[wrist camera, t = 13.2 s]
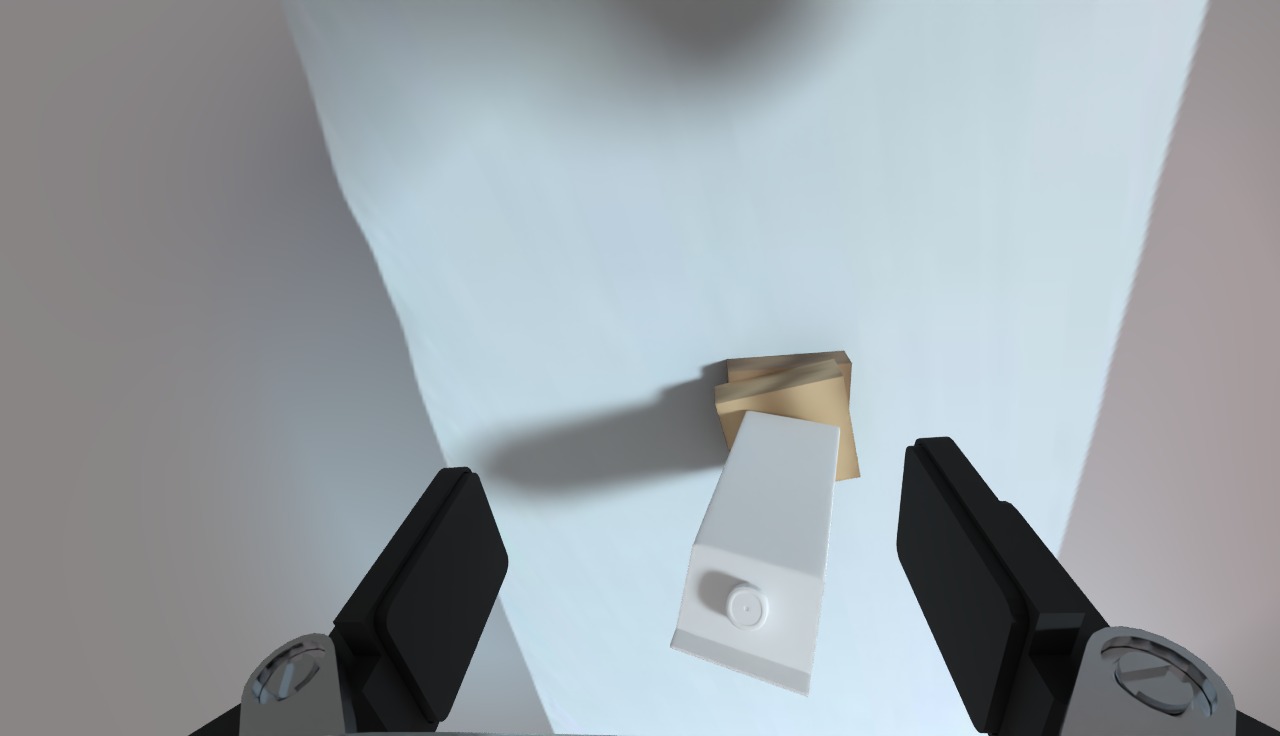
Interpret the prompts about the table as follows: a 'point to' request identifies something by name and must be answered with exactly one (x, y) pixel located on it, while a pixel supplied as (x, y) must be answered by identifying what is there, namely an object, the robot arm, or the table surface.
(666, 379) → the table surface
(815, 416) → the top slab
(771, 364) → the bottom slab
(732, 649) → the milk carton
